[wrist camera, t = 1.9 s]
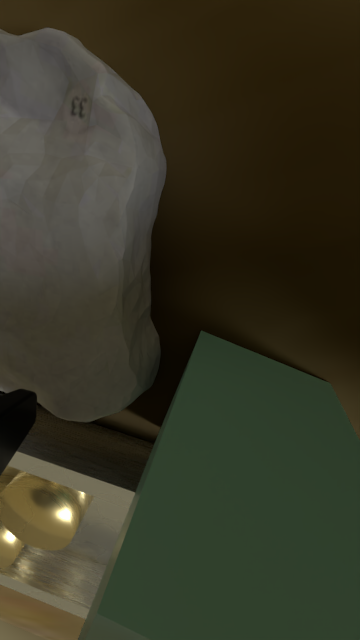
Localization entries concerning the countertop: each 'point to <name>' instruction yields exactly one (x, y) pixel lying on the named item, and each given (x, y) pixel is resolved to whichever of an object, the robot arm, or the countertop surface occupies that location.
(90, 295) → the stone block
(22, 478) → the chip
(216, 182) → the countertop surface
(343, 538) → the mint green brick
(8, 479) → the chip
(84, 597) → the channel
